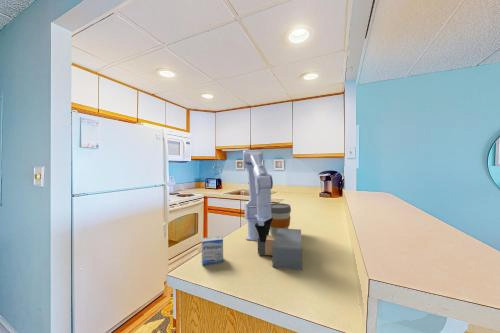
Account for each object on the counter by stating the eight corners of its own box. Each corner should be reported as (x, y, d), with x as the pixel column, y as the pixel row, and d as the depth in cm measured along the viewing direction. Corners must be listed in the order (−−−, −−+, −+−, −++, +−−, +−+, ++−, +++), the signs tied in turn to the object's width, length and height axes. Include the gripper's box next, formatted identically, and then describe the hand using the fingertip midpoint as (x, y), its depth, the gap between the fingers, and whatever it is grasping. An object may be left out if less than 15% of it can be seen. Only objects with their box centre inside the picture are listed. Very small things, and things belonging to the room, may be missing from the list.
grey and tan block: (259, 249, 84) (259, 235, 84) (293, 252, 81) (293, 237, 81) (257, 253, 80) (257, 239, 80) (293, 257, 77) (293, 241, 77)
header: (278, 245, 90) (278, 228, 90) (301, 246, 88) (300, 229, 88) (272, 267, 71) (272, 245, 71) (301, 270, 69) (301, 248, 69)
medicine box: (202, 265, 73) (201, 241, 73) (201, 260, 78) (201, 237, 77) (223, 262, 75) (223, 239, 75) (222, 257, 80) (221, 235, 80)
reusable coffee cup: (290, 230, 110) (289, 203, 110) (292, 239, 97) (292, 208, 97) (267, 230, 111) (266, 203, 111) (266, 238, 99) (266, 208, 99)
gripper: (257, 201, 90) (258, 231, 90) (250, 208, 75) (250, 244, 76) (273, 201, 88) (274, 232, 88) (268, 209, 74) (269, 245, 74)
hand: (264, 238), depth 82 cm, fingers open, 7 cm apart
